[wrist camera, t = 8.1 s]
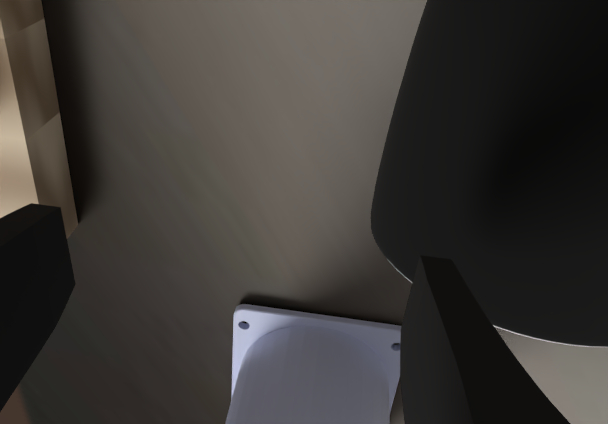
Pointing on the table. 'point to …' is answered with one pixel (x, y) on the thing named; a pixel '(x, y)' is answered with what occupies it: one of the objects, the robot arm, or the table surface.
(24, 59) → the rail
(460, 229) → the black cylindrical speaker
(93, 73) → the table surface
